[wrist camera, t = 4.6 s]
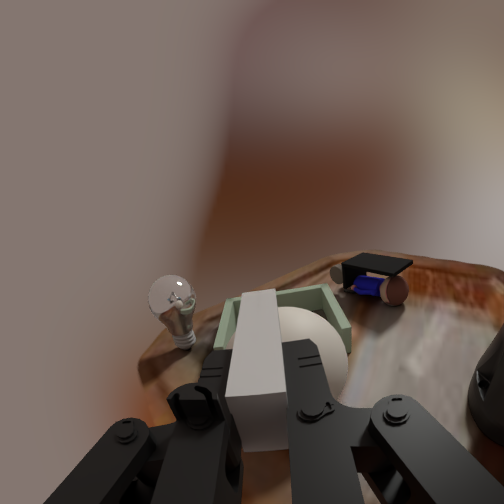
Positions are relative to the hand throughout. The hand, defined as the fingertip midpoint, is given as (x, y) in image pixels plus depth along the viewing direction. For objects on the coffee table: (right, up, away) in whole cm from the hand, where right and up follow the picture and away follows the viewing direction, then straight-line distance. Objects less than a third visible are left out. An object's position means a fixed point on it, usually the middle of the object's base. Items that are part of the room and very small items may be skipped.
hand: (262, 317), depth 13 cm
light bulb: (-10, -12, +27) cm, 31 cm away
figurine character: (+21, -5, +33) cm, 39 cm away
